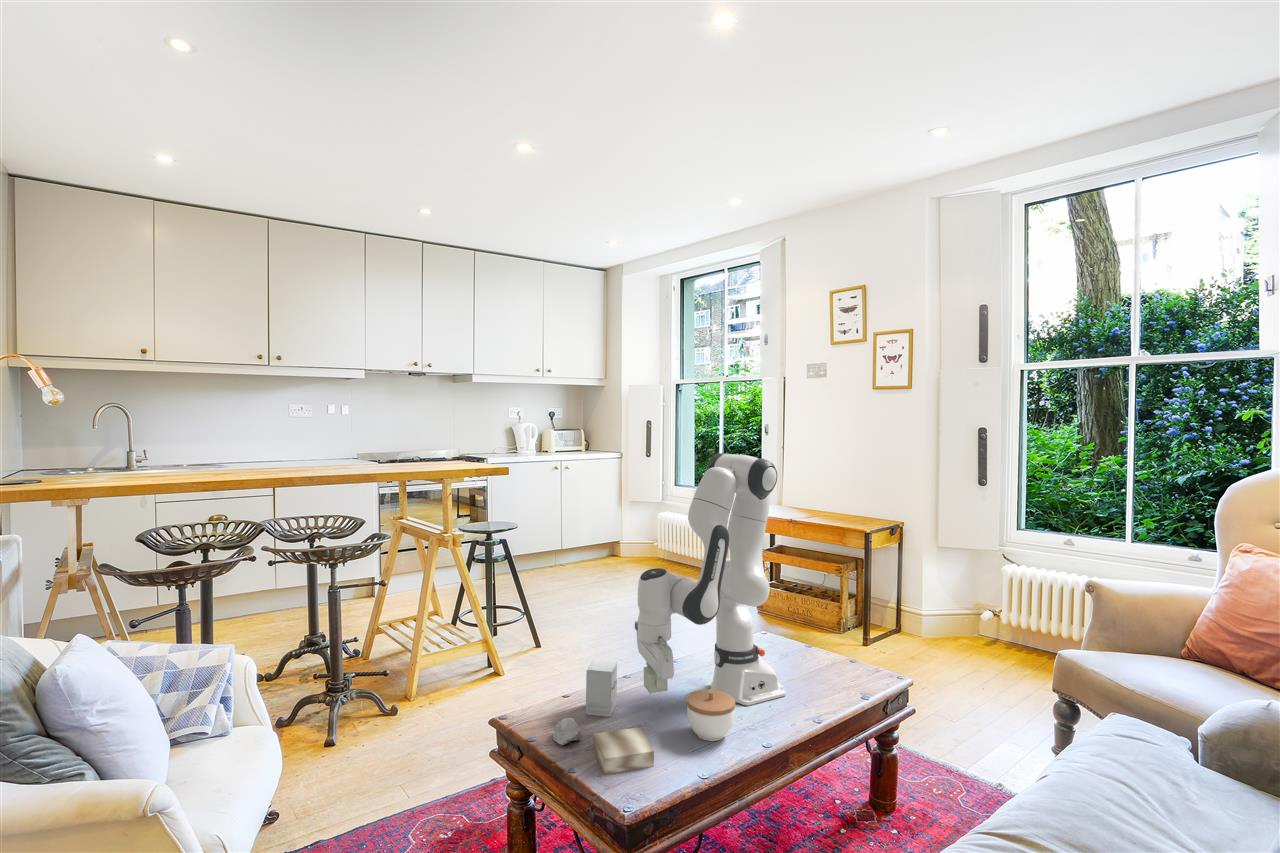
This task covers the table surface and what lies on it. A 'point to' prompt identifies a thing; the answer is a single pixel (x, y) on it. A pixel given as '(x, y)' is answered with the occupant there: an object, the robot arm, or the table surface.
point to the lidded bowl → (710, 713)
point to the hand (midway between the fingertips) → (655, 682)
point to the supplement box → (601, 688)
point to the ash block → (623, 750)
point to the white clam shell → (566, 731)
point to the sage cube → (652, 681)
